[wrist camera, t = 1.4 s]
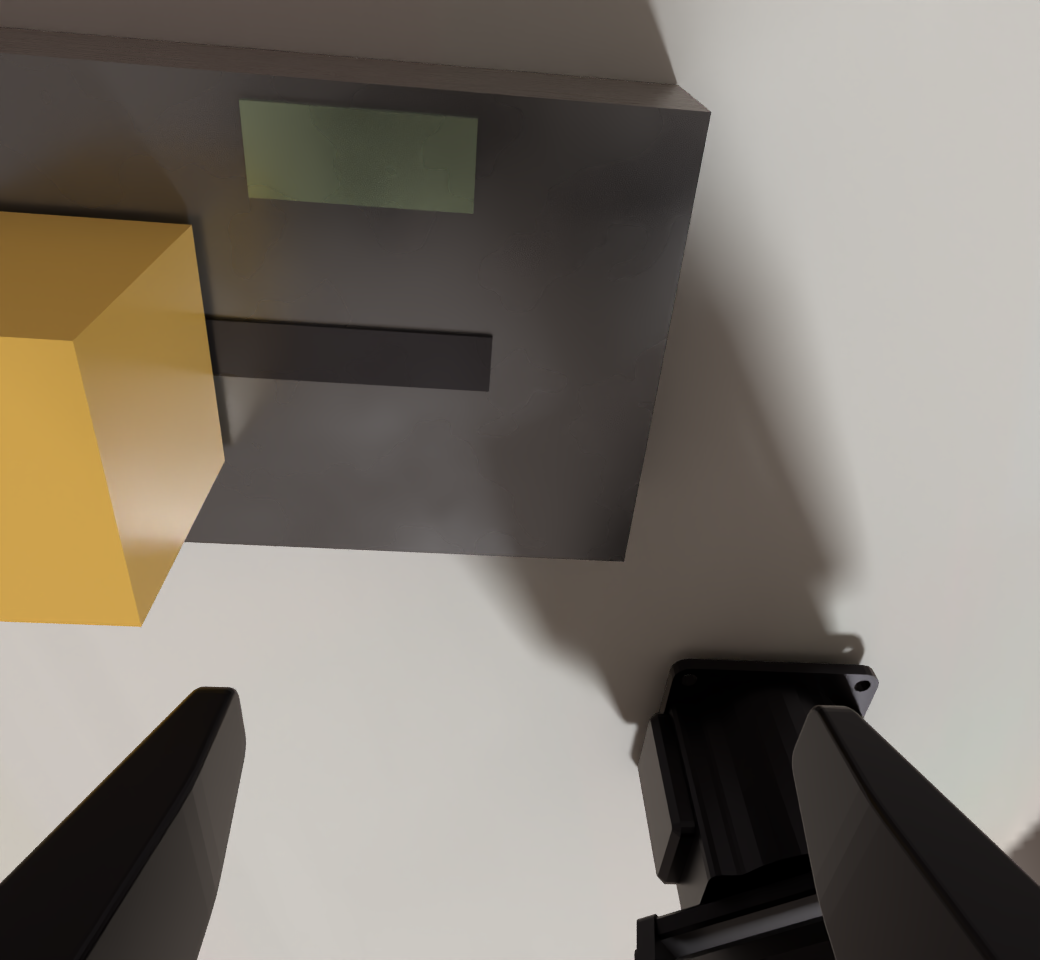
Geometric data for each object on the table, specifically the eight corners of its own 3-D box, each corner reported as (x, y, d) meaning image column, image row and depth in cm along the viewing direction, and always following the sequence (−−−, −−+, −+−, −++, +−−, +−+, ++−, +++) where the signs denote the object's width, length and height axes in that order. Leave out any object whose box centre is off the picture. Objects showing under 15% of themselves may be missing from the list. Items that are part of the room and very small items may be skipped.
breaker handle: (191, 225, 15) (72, 341, 10) (224, 460, 17) (140, 626, 13) (-43, 208, 14) (-260, 321, 10) (29, 450, 17) (-119, 616, 13)
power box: (677, 84, 17) (712, 112, 14) (608, 490, 22) (624, 563, 20) (-496, -15, 15) (-699, -5, 13) (-256, 447, 21) (-362, 520, 18)
